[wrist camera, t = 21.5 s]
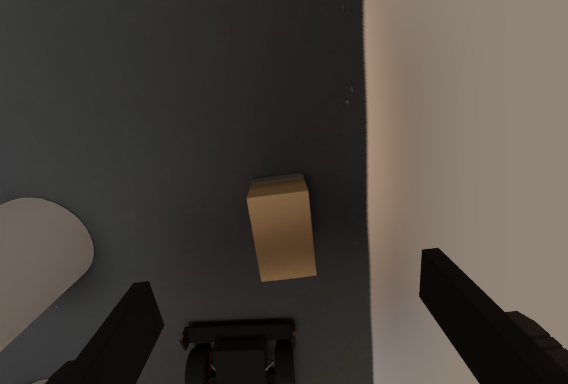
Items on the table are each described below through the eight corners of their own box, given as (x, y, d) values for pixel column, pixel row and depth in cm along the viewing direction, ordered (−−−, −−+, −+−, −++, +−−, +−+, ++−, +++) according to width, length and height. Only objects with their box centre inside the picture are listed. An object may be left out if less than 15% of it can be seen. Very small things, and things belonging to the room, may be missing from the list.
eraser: (252, 178, 22) (246, 198, 17) (302, 172, 22) (308, 190, 17) (263, 249, 24) (261, 282, 20) (309, 243, 24) (316, 276, 20)
